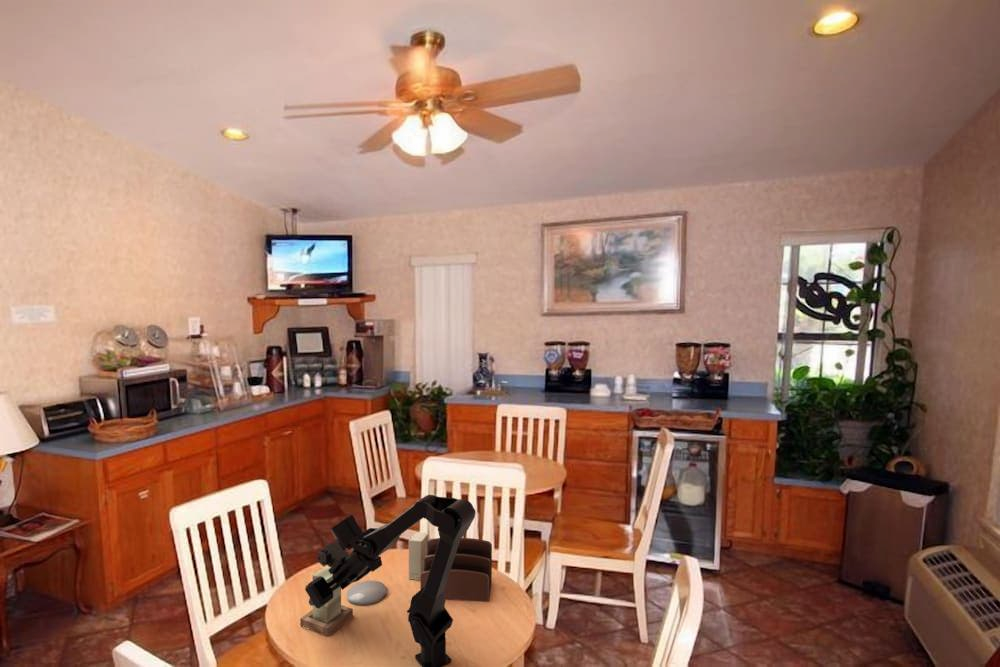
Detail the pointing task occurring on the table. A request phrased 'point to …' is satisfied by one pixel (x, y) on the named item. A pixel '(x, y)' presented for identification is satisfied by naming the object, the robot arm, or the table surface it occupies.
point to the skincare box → (417, 554)
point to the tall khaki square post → (334, 605)
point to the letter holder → (465, 570)
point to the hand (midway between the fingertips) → (323, 594)
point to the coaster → (366, 592)
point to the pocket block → (331, 626)
